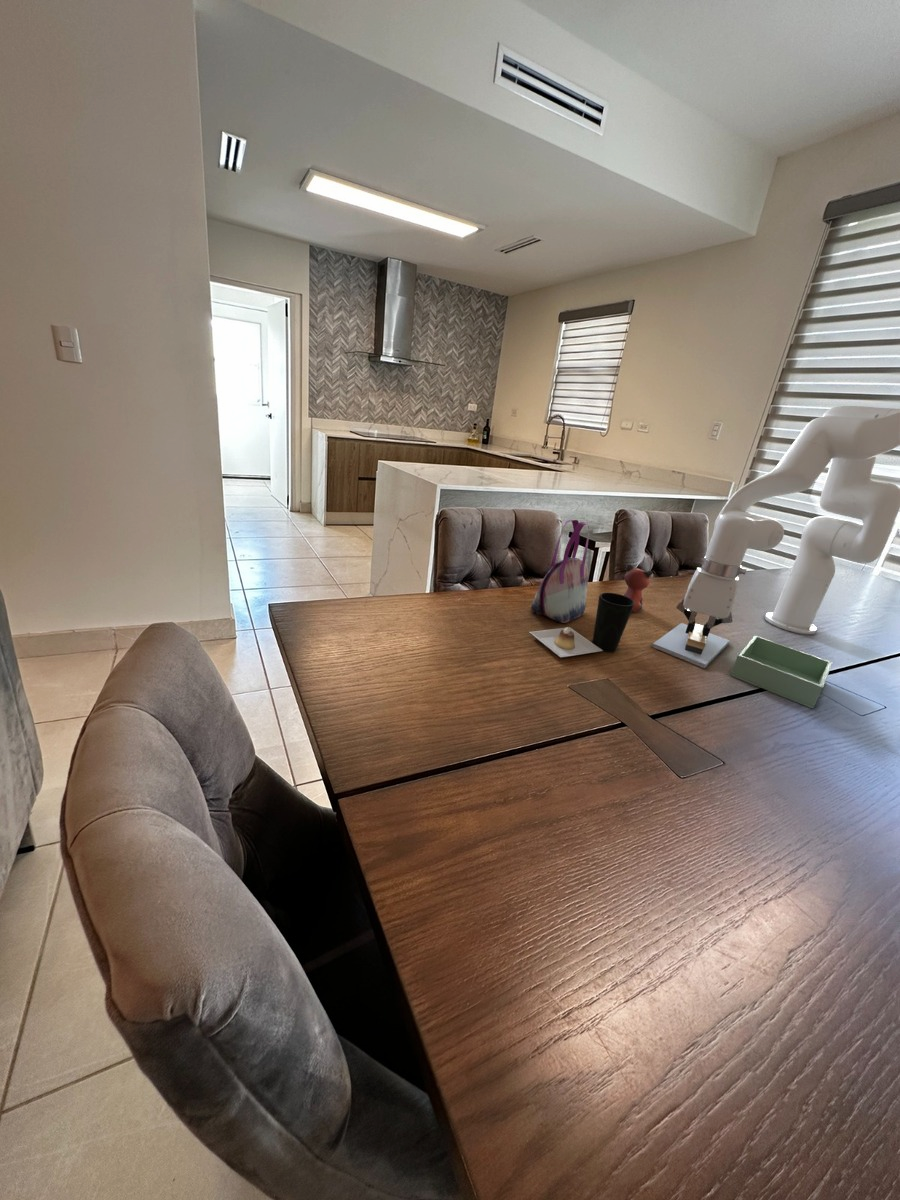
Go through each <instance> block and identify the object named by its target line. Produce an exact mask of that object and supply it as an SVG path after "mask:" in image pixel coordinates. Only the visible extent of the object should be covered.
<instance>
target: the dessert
mask: <svg viewBox="0 0 900 1200" xmlns="http://www.w3.org/2000/svg"><path fill="white" fill-rule="evenodd" d="M529 634H531V635H532V636H533V637H534V638H535V639H537V640H538V641H539V642H540V643H542V644H543V645H544V646H545V647H546V648H548V649H549V650H550V651H551V652H553V653H554V654H555V655H557V656H558V657H560V658H568V657H574V656H580V655H586V654H591V653H598V652H604V651H603V650H602V649H600V648H599V647H597V646H596V645H594V644H593V643H592V642H591V641H590V640H589V639H587V638H586V637H585V636H583V635H582V634H580V633H579V632H578V631H576V630H574V629H573V628H572V627H570V626H569V627H568V626H567V625H566V626H565V627H559V628H558V627H557V628H552V629H543V630H536V631H529Z"/></svg>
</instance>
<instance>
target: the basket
mask: <svg viewBox="0 0 900 1200" xmlns="http://www.w3.org/2000/svg"><path fill="white" fill-rule="evenodd" d="M832 665H833V661H831V660H827V659H824V658H821V657H818V656H816V655H813V654H811V653H807V652H805V651H802V650H799V649H797V648H793V647H790V646H788V645H784V644H781V643H778V642H776V641H773V640H770V639H767V638H764V637H761V636H758V635H754V636H753V637H752V638H751V639H750V640H749V642H748V643H747V644H746V645H745V646H744V647H743V649H742V650H741V651H740V652H738V654H737V656H736V658H735V661H734V664H733V666H732V669H731V671H730V674H729V676H731V677H733V678H736V679H738V680H741V681H743V682H746V683H748V684H751V685H753V686H756V687H758V688H760V689H763V690H766V691H767V692H770V693H773V694H775V695H778V696H780V697H783V698H785V699H788V700H790V701H793V702H795V703H797V704H800V705H803V706H805V707H806V708H810V709H814V707H815V705H816V703H817V701H818V699H819V698H820V696H821V694H822V691H823V689H824V687H825V684H826V681H827V679H828V676H829V673H830V671H831V669H832Z"/></svg>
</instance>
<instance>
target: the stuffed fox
mask: <svg viewBox="0 0 900 1200" xmlns="http://www.w3.org/2000/svg"><path fill="white" fill-rule="evenodd" d="M625 566H626V567H625V570H626V573H625V574H624V582H625V584H626V586H627V589H626V591H625V593H624V594H623V596H626V597H628V598H630V599H632V600H633V601H634V603H635V604H634V607H633V609H632V612H631V613H638V612H640V611H641V610H642V609H643V599H644V598H643V590H645V589H646V588H648V587H649V585H650V583H651V582H650V581H651V580H650V577H651V576H652V574H653V573H654V572H653V571H652V570H643V569H640V568H636V567H634V566H633V565H632V564H631V563H627V564H626V565H625Z"/></svg>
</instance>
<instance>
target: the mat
mask: <svg viewBox="0 0 900 1200" xmlns="http://www.w3.org/2000/svg"><path fill="white" fill-rule="evenodd" d="M687 626H688V624H686V623H683V622H680V623H679V624H678V625H676V626H674V627H673V628H672V629H671V630H670V631H668V632H667V633H665V634H664V635H662V636H661V637H659V638H658V639H657V640H656V641H655V642H653V643H652V645H651V648H653V649H656V650H659V651H661V652H663V653H665V654H669V655H670V656H673V657H676V658H678V659H680V660H683V661H685V662H688V663H690V664H692V665H695V666H697V667H700V668H702V669H705V668H706V667H708V666H709V665H710V663H712V661H713V660H714V659H715V658H716V657H717V656H718V655H719V654H720V653H721V652H722V651H723V650H724V649H725V648H726V647H727V646H728V645H729V643H730V641H731V640H729V639H727V638H724V637H721V636H719V635H716V634H713V633H710V632H709V635H708V637H707V639H706V645H705V647H704V649H703V652H702V654H697V653H694V652H691V651H687V650H685V645H686V641H687V636H688V634H687V633H685V632H686V629H687Z"/></svg>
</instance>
